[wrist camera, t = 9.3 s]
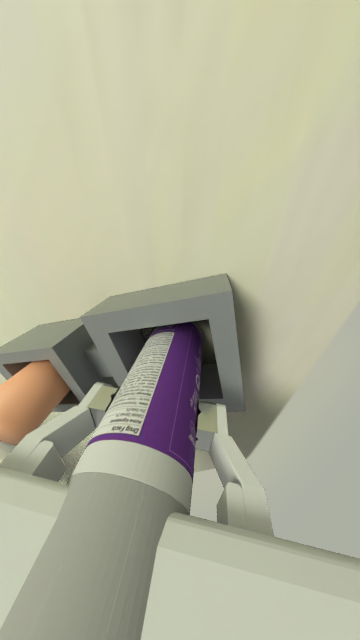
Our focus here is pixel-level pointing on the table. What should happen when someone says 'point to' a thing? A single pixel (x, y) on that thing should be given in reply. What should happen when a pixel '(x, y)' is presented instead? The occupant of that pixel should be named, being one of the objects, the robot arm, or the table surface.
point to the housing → (135, 340)
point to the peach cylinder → (29, 399)
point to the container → (118, 502)
